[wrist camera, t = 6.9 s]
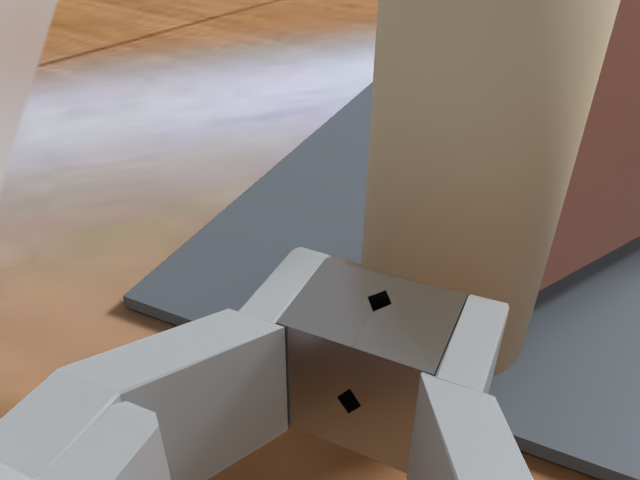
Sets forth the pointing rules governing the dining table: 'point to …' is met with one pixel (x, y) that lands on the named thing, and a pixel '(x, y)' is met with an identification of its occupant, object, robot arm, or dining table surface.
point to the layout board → (346, 242)
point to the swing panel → (502, 145)
